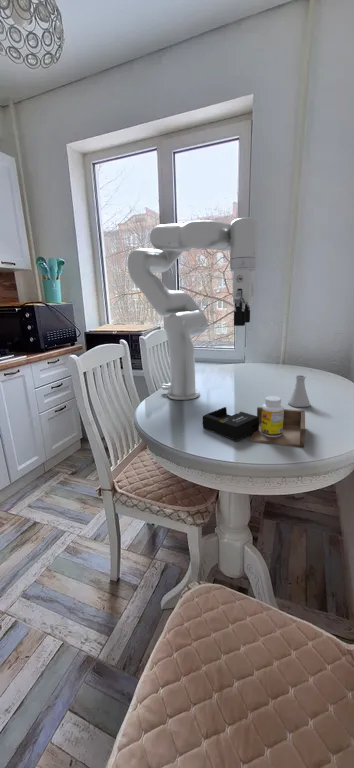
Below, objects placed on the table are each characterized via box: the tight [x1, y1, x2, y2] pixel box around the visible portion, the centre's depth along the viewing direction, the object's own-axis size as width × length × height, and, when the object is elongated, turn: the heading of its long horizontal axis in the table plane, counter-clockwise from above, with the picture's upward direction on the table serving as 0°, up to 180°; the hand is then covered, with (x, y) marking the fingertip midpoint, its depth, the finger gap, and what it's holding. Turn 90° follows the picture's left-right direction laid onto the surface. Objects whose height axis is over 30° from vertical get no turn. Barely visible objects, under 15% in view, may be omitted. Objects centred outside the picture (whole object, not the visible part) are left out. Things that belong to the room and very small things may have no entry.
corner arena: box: [250, 406, 306, 448], centre depth 87 cm, size 13×13×5 cm
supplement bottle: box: [261, 395, 285, 438], centre depth 85 cm, size 6×6×10 cm
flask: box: [288, 374, 311, 408], centre depth 108 cm, size 7×7×10 cm
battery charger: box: [202, 406, 259, 442], centre depth 90 cm, size 13×10×4 cm
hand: (242, 323), depth 99 cm, fingers open, 9 cm apart
